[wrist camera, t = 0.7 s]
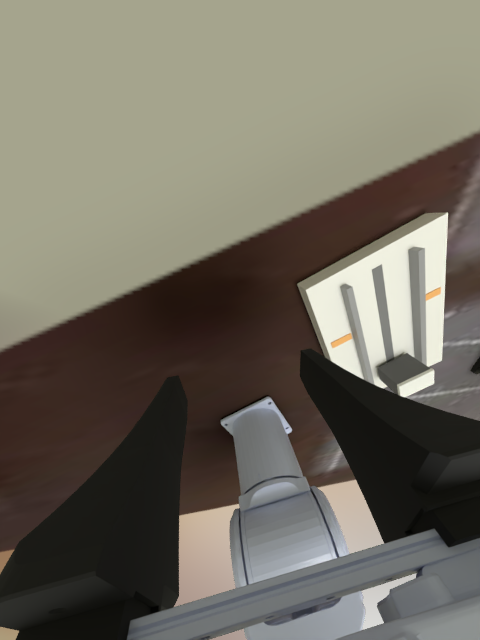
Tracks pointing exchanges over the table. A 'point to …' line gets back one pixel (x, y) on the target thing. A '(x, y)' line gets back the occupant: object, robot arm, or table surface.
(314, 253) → the table surface
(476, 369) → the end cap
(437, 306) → the console
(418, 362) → the fader tab
